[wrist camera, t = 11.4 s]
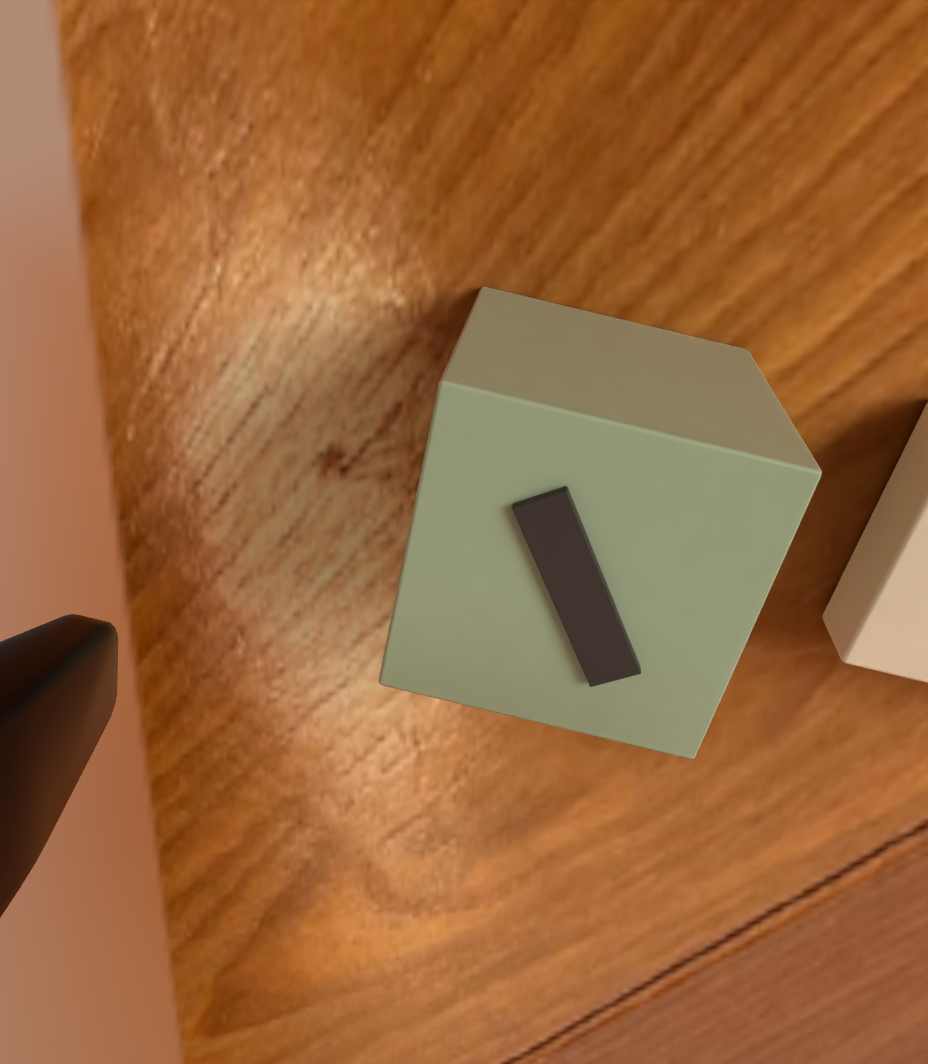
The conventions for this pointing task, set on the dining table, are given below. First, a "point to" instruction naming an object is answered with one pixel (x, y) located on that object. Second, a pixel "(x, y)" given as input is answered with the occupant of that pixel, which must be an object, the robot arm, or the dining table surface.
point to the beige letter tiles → (889, 575)
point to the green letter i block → (594, 524)
